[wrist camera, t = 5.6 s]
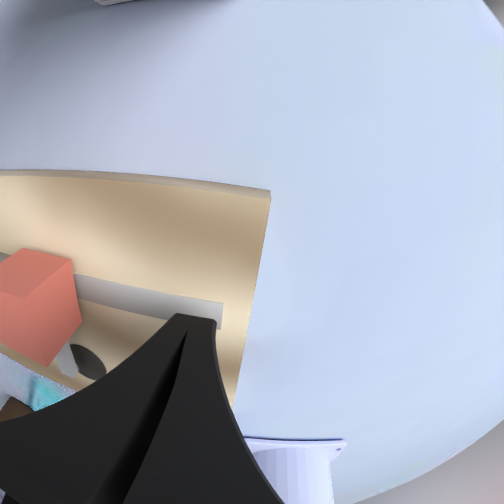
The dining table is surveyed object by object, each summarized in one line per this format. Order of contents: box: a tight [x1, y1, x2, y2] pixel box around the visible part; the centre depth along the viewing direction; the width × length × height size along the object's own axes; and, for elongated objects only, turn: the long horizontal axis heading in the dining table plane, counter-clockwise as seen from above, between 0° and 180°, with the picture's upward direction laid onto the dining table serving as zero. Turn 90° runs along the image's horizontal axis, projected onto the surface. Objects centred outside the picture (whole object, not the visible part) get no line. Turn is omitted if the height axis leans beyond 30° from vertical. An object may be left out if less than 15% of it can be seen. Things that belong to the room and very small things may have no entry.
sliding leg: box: [0, 248, 82, 378], centre depth 9 cm, size 7×3×3 cm, turn 171°
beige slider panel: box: [0, 170, 271, 409], centre depth 10 cm, size 13×20×5 cm, turn 81°
